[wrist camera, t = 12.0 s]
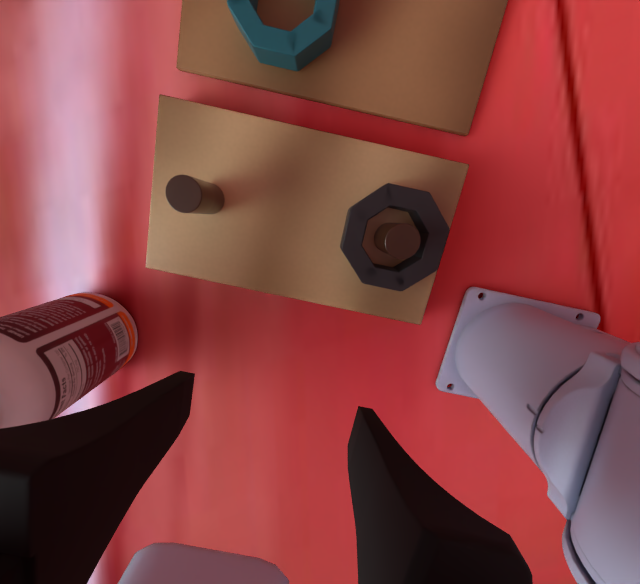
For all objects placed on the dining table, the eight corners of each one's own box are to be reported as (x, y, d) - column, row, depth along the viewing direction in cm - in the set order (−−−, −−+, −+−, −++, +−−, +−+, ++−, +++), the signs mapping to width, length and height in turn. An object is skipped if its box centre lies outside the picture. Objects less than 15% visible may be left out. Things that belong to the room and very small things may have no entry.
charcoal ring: (446, 200, 18) (459, 198, 16) (419, 290, 19) (429, 297, 18) (354, 180, 18) (357, 175, 16) (333, 272, 19) (334, 277, 17)
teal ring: (346, -35, 17) (349, -64, 15) (325, 78, 18) (325, 63, 16) (246, -60, 17) (237, -93, 15) (231, 56, 18) (221, 38, 16)
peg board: (455, 169, 20) (504, 151, 14) (412, 315, 22) (440, 347, 16) (175, 106, 19) (117, 61, 14) (161, 263, 21) (106, 277, 16)
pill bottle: (40, 331, 23) (-217, 432, 12) (89, 272, 21) (-147, 325, 11) (109, 385, 23) (-72, 524, 13) (159, 331, 22) (7, 434, 12)
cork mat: (510, -15, 17) (514, -20, 17) (465, 136, 19) (468, 134, 19) (194, -93, 17) (191, -101, 16) (179, 70, 19) (176, 67, 18)
